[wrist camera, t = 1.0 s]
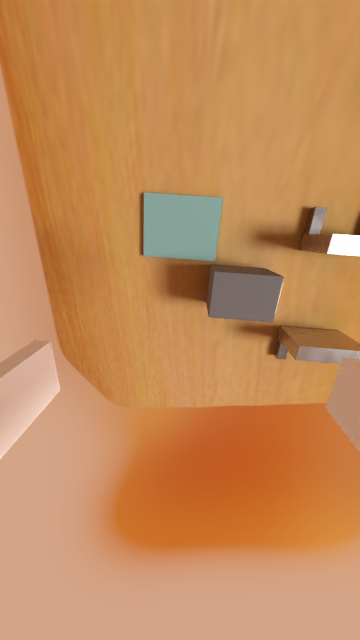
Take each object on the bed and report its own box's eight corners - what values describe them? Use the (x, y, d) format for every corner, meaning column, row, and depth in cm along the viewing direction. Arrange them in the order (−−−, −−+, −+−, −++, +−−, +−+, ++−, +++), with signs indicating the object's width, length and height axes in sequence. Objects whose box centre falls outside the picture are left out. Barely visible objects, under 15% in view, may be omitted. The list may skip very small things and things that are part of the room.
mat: (144, 193, 25) (143, 192, 25) (222, 198, 25) (222, 197, 25) (144, 255, 28) (143, 256, 28) (214, 260, 28) (215, 261, 27)
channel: (309, 208, 25) (342, 199, 19) (381, 212, 25) (436, 205, 19) (272, 354, 32) (289, 380, 26) (328, 359, 32) (357, 386, 26)
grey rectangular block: (210, 264, 28) (214, 271, 22) (268, 268, 28) (287, 277, 22) (206, 302, 30) (209, 317, 24) (260, 306, 30) (276, 322, 24)
